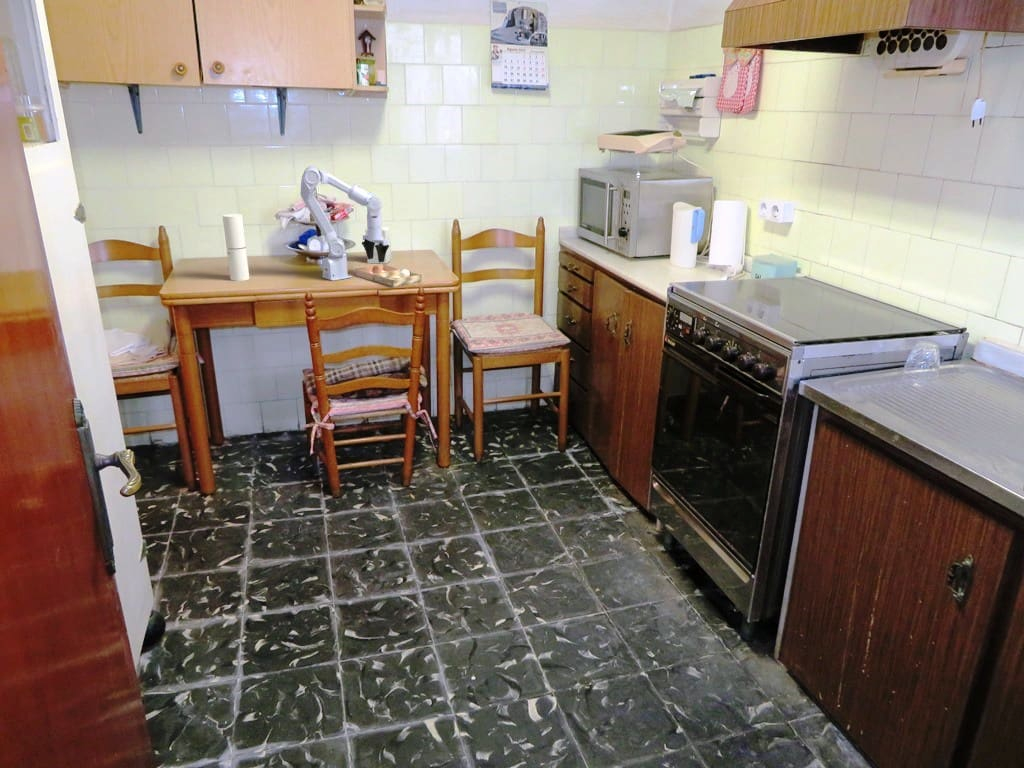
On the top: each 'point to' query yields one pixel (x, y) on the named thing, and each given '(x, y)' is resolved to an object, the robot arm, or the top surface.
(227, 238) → the cylindrical container
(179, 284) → the top surface
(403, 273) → the cream ball
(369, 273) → the peach open box
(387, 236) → the supplement box
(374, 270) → the terracotta ball
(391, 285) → the box
